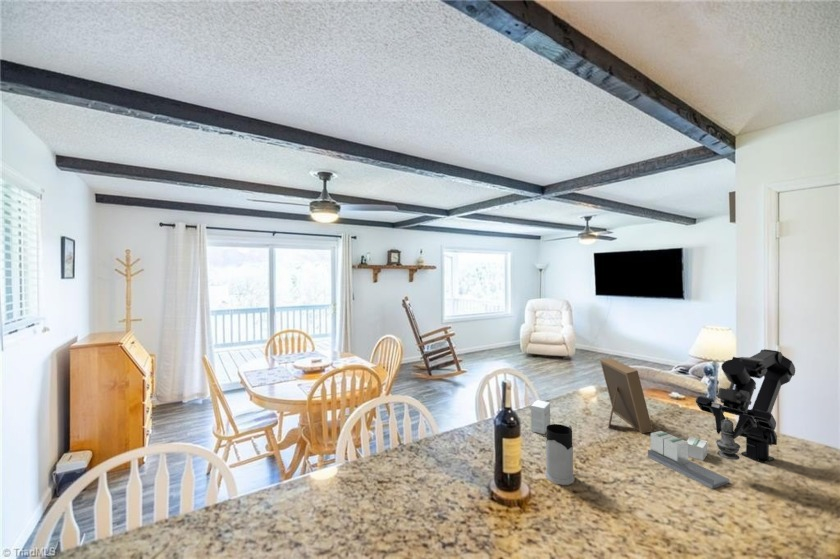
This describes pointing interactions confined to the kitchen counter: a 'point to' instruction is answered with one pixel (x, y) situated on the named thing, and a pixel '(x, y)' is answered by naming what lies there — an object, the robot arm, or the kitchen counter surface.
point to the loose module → (697, 448)
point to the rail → (699, 470)
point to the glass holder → (559, 454)
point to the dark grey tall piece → (727, 441)
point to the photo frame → (626, 394)
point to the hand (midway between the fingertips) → (725, 435)
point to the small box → (540, 416)
